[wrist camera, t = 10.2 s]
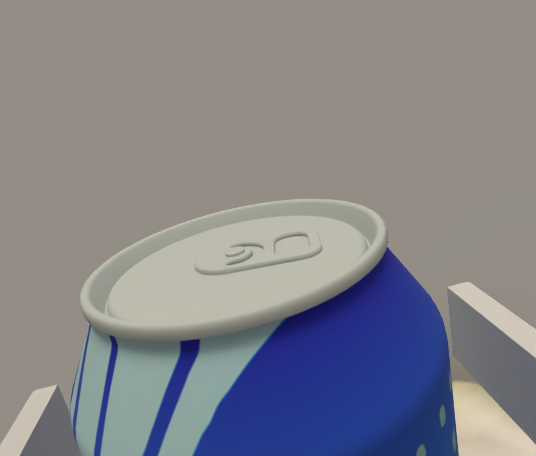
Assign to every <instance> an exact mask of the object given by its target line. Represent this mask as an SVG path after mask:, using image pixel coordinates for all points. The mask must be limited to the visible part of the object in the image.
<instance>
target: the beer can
mask: <svg viewBox="0 0 536 456" xmlns="http://www.w3.org/2000/svg"><path fill="white" fill-rule="evenodd" d="M387 244H388V233H387V228H386V225H385V223H384V221H383V220H382V218H381V217H380V216H379V215H378V214H377V213H376V212H374V211H372V210H370V209H369V208H366V207H364V206H361V205H359V204H355V203H351V202H346V201H339V200H329V199H297V200H284V201H275V202H267V203H261V204H254V205H249V206H243V207H239V208H234V209H230V210H225V211H221V212H217V213H214V214H210V215H207V216H203V217H200V218H197V219H193V220H190V221H187V222H184V223H181V224H178V225H176V226H173V227H171V228H168V229H165V230H163V231H160V232H158V233H156V234H153V235H151V236H149V237H147V238H145V239H143V240H141V241H139V242H137V243H135V244H133V245H131V246H129V247H127V248H126V249H124V250H122V251H121V252H119V253H117V254H116V255H114V256H113V257H111V258H110V259H109V260H107V261H106V262H105V263H103V264H102V265H101V266H100V267H99V268H98V269H96V270H95V271H94V272H93V274H92V275H91V276H90V277H89V278H88V279H87V281H86V282H85V284H84V285H83V288H82V290H81V293H80V307H81V310H82V313H83V315H84V317H85V319H86V320H87V321H88V323H89V326H88V331H87V334H86V339H85V342H84V346H83V350H82V354H81V358H80V361H79V365H78V369H77V373H76V377H75V381H74V385H73V389H72V395H71V409H70V412H71V425H72V430H73V434H74V438H75V442H76V444H77V447H78V449H79V451H80V454H81V456H459V454H458V443H457V433H456V422H455V412H454V401H453V391H452V380H451V370H450V359H449V349H448V340H447V335H446V331H445V326H444V322H443V319H442V317H441V315H440V312H439V310H438V308H437V307H436V305H435V303H434V302H433V300H432V298H431V297H430V295H429V294H428V293H427V292H426V291H425V290H424V288H423V287H422V286H421V285H420V284H419V283H418V282H417V281H416V279H415V278H414V277H413V276H412V275H411V273H409V272H408V270H407V269H406V268H405V267H404V266H403V264H402V263H401V262H400V261H399V260H398V259H397V258H396V256H395V255H394V254H393V253H392V252H391V251H390V250H389V248H388V247H387Z"/></svg>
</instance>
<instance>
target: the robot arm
mask: <svg viewBox="0 0 536 456" xmlns="http://www.w3.org/2000/svg"><path fill="white" fill-rule="evenodd" d="M447 291H448V303H449V315H450V326H451V337H452V348H453V356H454V357H455V358H456V360H458V361H459V363H460V364H461V365H462V366H463V367H464V368H465V369H466V370H467V371H468V372H469V373H470V374H471V376H472V377H473V378H474V379H475V380H476V381H477V382H478V383H479V384H480V385H481V386H482V387H483V388H484V389H485V390H486V392H487V393H488V394H489V395H490V396H491V397H492V398H493V399H494V400H495V401H496V402H497V403H498V404H499V405H500V406H501V408H502V409H503V410H504V411H505V412H506V413H507V414H508V415H509V416H510V417H511V418H512V419H513V420H514V421H515V423H516V424H517V425H518V426H519V427H520V428H521V429H522V430H523V431H524V432H525V433H526V434H527V435H528V436H529V437H530V439H531V440H532V441H533V442H534V443H535V444H536V329H534V328H533V327H532V326H530V325H529V324H527V323H526V322H525V321H523V320H522V319H520V318H519V317H517V316H516V315H515V314H513V313H512V312H510V311H509V310H508V309H506V308H505V307H503V306H502V305H501V304H499V303H498V302H496V301H495V300H494V299H492V298H491V297H489V296H488V295H487V294H485V293H484V292H482V291H481V290H480V289H478V288H477V287H475V286H474V285H473V284H471V283H470V282H465V283H461V284H457V285H453V286H449V287H447ZM0 456H81V454H80V451H79V449H78V447H77V444H76V442H75V438H74V434H73V430H72V425H71V414H70V412H69V410H68V408H67V405H66V403H65V400H64V398H63V396H62V393H61V391H60V389H59V386H58V385H54V386H50V387H46V388H42V389H38V390H34V391H33V393H32V394H31V396H30V398H29V399H28V401H27V403H26V404H25V406H24V407H23V409H22V411H21V412H20V414H19V416H18V417H17V419H16V420H15V422H14V424H13V425H12V427H11V429H10V430H9V432H8V434H7V435H6V437H5V439H4V440H3V442H2V443H1V445H0Z"/></svg>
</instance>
